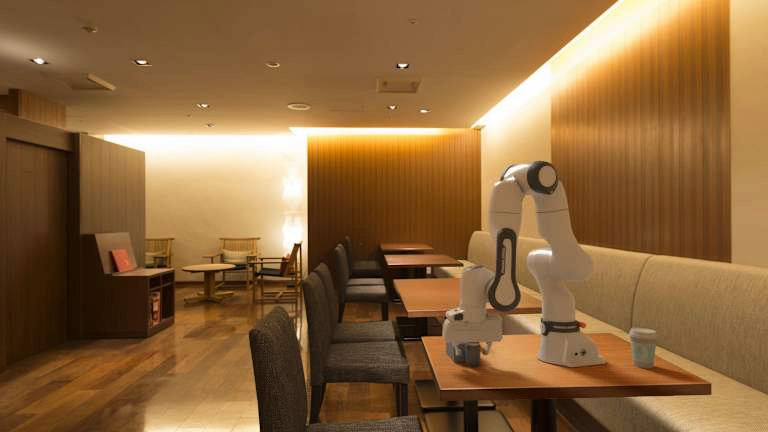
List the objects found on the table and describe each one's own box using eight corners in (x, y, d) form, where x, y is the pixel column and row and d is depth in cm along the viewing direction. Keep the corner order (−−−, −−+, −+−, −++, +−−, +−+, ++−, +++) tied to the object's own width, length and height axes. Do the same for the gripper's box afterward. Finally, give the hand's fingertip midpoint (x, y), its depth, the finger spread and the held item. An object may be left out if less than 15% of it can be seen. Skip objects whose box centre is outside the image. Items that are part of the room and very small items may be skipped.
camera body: (469, 352, 174) (469, 329, 174) (479, 361, 163) (479, 336, 163) (446, 352, 173) (446, 329, 173) (453, 361, 162) (453, 337, 162)
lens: (477, 362, 162) (477, 339, 162) (482, 367, 157) (482, 343, 157) (463, 363, 161) (463, 340, 161) (467, 367, 156) (467, 344, 156)
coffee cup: (623, 362, 162) (623, 327, 162) (647, 361, 163) (647, 327, 163) (639, 370, 154) (639, 333, 154) (663, 369, 155) (663, 333, 155)
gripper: (498, 311, 163) (498, 351, 163) (441, 312, 160) (440, 352, 160) (505, 315, 157) (505, 356, 156) (446, 315, 154) (445, 358, 154)
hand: (472, 354), depth 158 cm, fingers open, 8 cm apart
